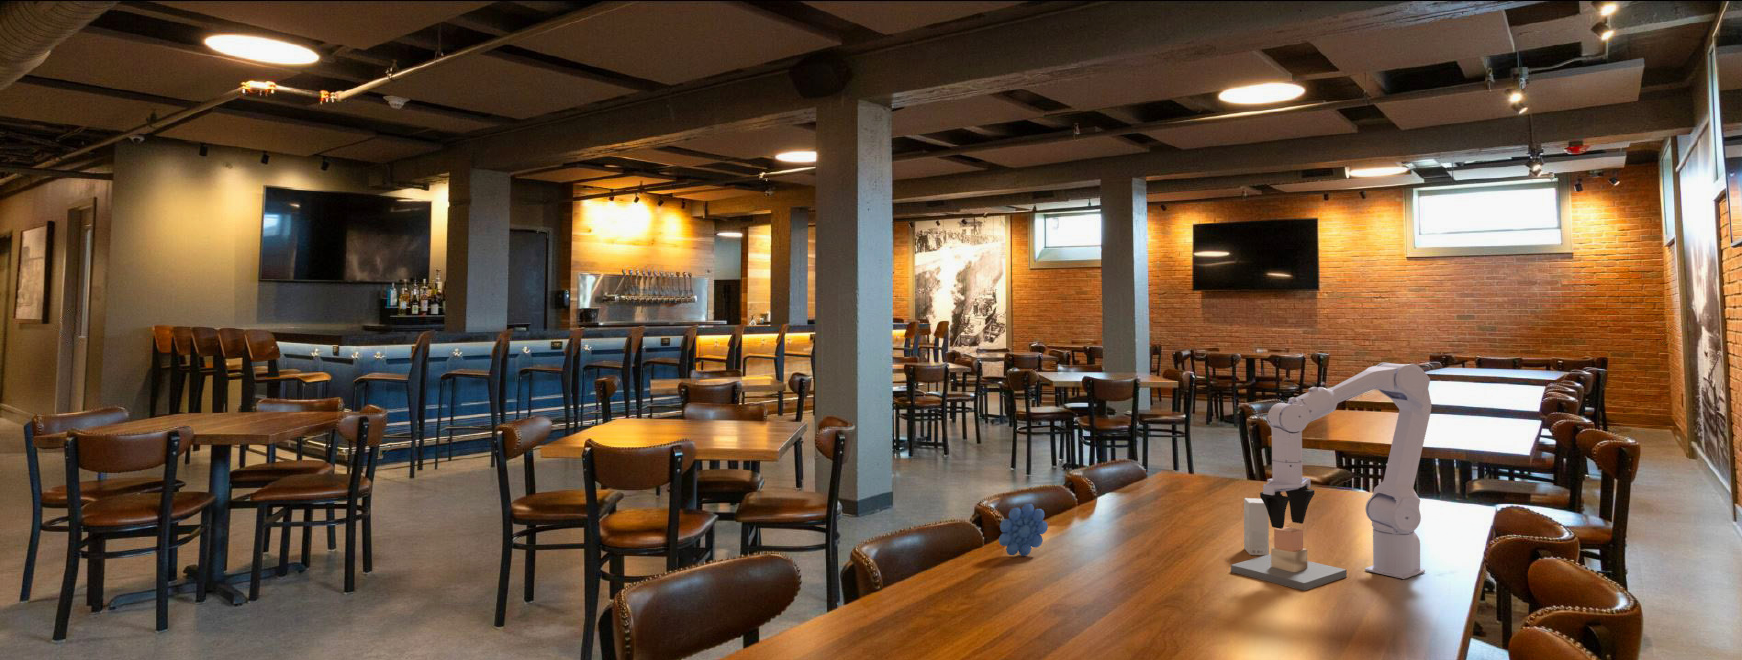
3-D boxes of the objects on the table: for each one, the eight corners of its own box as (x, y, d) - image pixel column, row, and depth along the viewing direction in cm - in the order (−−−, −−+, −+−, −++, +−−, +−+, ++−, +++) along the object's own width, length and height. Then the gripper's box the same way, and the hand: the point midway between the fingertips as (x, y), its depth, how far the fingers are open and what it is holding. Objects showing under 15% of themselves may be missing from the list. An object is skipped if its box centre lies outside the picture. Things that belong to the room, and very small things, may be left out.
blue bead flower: (1041, 549, 202) (1041, 499, 202) (1051, 557, 195) (1051, 504, 195) (993, 552, 200) (993, 500, 200) (1002, 560, 194) (1001, 506, 194)
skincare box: (1269, 556, 195) (1269, 503, 195) (1249, 555, 195) (1249, 502, 195) (1262, 549, 201) (1262, 498, 200) (1243, 548, 201) (1243, 497, 201)
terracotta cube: (1284, 545, 183) (1284, 526, 183) (1303, 548, 180) (1303, 529, 180) (1274, 547, 181) (1274, 528, 181) (1292, 551, 177) (1292, 532, 177)
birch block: (1284, 562, 183) (1284, 544, 183) (1307, 568, 179) (1307, 549, 179) (1271, 566, 181) (1271, 547, 181) (1294, 572, 177) (1294, 552, 177)
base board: (1273, 559, 191) (1273, 553, 191) (1346, 576, 178) (1346, 569, 178) (1230, 571, 182) (1230, 564, 182) (1304, 590, 169) (1304, 583, 169)
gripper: (1288, 455, 188) (1288, 517, 188) (1249, 461, 179) (1249, 526, 179) (1320, 459, 182) (1320, 523, 182) (1281, 465, 174) (1282, 532, 174)
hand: (1287, 525), depth 180 cm, fingers open, 7 cm apart
